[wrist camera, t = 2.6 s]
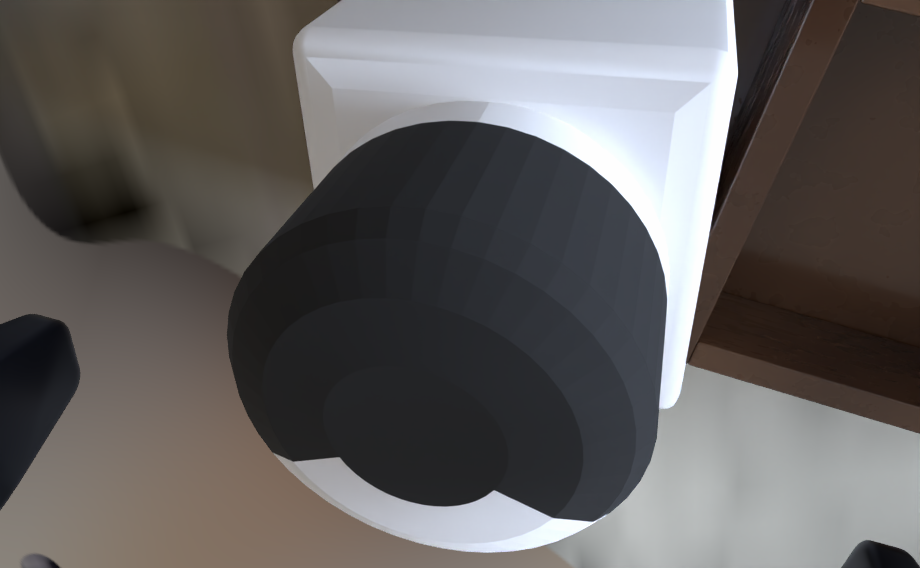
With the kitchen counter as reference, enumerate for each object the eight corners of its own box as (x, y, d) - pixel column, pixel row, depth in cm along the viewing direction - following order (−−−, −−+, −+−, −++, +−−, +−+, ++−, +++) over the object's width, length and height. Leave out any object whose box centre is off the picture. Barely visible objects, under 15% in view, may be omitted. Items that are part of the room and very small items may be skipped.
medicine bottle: (414, -62, 18) (91, 165, 9) (733, -54, 17) (758, 235, 7) (430, 205, 22) (221, 555, 13) (687, 232, 21) (664, 656, 11)
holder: (1338, 35, 15) (1453, 92, 13) (1024, 394, 21) (1063, 477, 19) (396, -181, 17) (346, -166, 15) (359, 202, 23) (319, 255, 21)
